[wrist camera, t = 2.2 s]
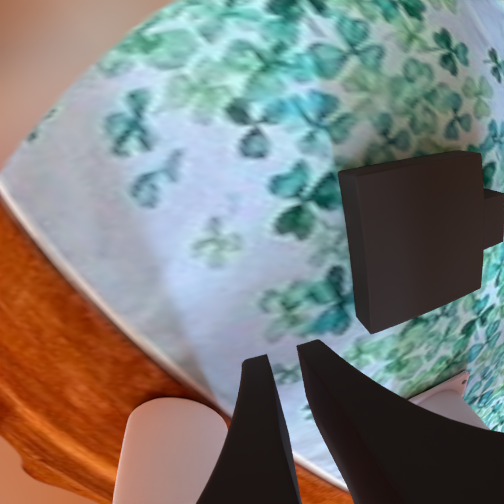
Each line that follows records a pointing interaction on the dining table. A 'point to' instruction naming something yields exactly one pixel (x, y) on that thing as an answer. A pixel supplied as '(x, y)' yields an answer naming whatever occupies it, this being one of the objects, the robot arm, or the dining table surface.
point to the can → (168, 452)
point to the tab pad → (417, 233)
